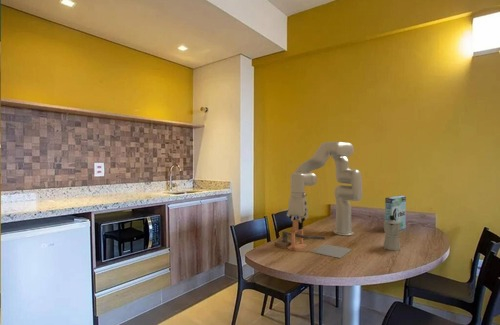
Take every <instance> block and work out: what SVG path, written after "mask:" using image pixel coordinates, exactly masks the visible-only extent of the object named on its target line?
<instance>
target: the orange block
mask: <svg viewBox="0 0 500 325" xmlns="http://www.w3.org/2000/svg"><path fill="white" fill-rule="evenodd" d="M298 232H299V235H304V227H303V228H302V229H301V230H299V218H296V219H295V220H293V227H292V229H291V233H292V236H291V237H290V238H291V239H290V240H291V246H288V247H287V249H288V250H291V251H295V252H298V251H301V250H304V249H305V248H306V247H307V246H308V244H306V243H304V238H300V237H299V242H298V241H297V242H296V237H295V234H297V233H298Z"/></svg>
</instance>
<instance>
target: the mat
mask: <svg viewBox="0 0 500 325" xmlns="http://www.w3.org/2000/svg"><path fill="white" fill-rule="evenodd" d="M351 251H353V249H352V248H347V247H344V246H343V247H342V246H336V245H332V244H328V243H326V244H323V245H321V246H319V247H318V248H316V249H314V250H313V251H311V253H312V254H318V255H322V256H326V257H327V256H328V257H331V258H335V259H340V260H341V259H342V258H343V257H345V256H346V255H347V254H349V253H350V252H351Z"/></svg>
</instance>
